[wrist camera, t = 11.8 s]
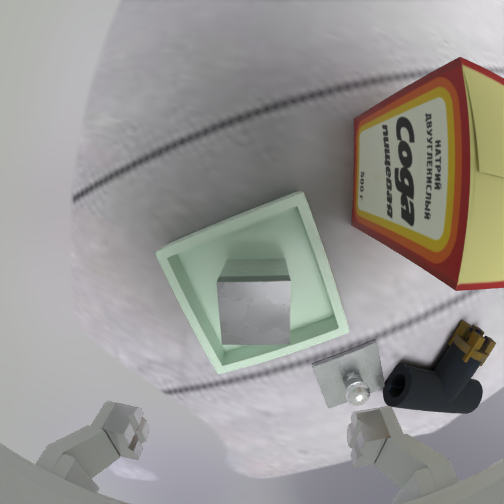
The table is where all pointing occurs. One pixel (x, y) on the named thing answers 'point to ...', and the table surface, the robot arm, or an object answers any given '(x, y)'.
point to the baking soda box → (437, 174)
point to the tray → (256, 247)
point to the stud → (350, 375)
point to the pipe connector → (443, 377)
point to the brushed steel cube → (254, 302)
